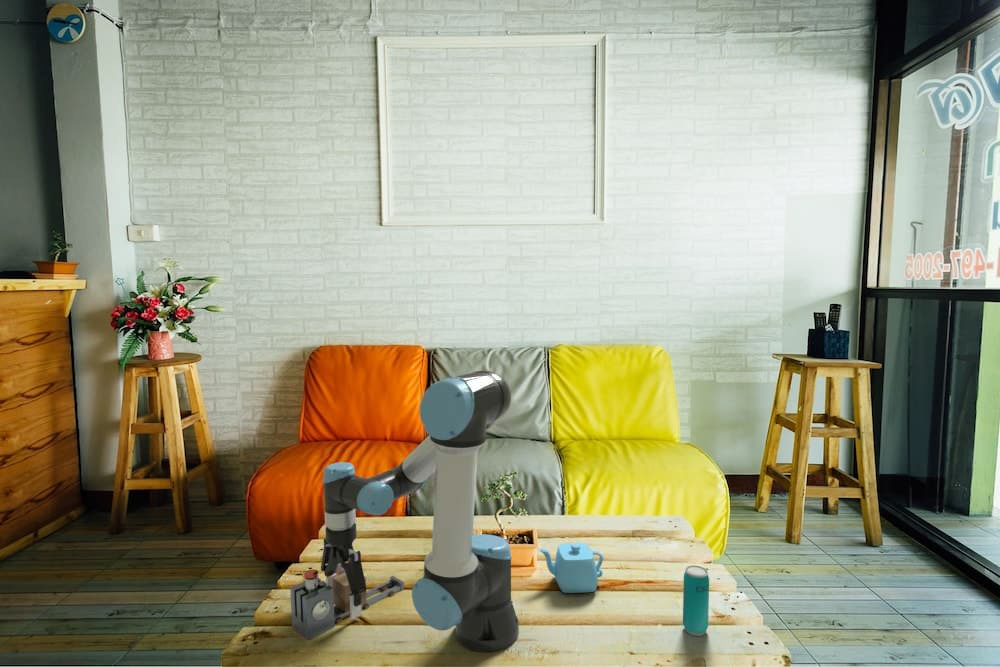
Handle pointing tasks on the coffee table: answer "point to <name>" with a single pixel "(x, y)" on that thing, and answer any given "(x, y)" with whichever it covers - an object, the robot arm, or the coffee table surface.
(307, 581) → the gauge plunger
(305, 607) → the gauge cabinet
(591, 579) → the teapot
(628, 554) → the coffee table surface
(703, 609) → the beverage can
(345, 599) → the carriage
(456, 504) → the robot arm
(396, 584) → the rail track
